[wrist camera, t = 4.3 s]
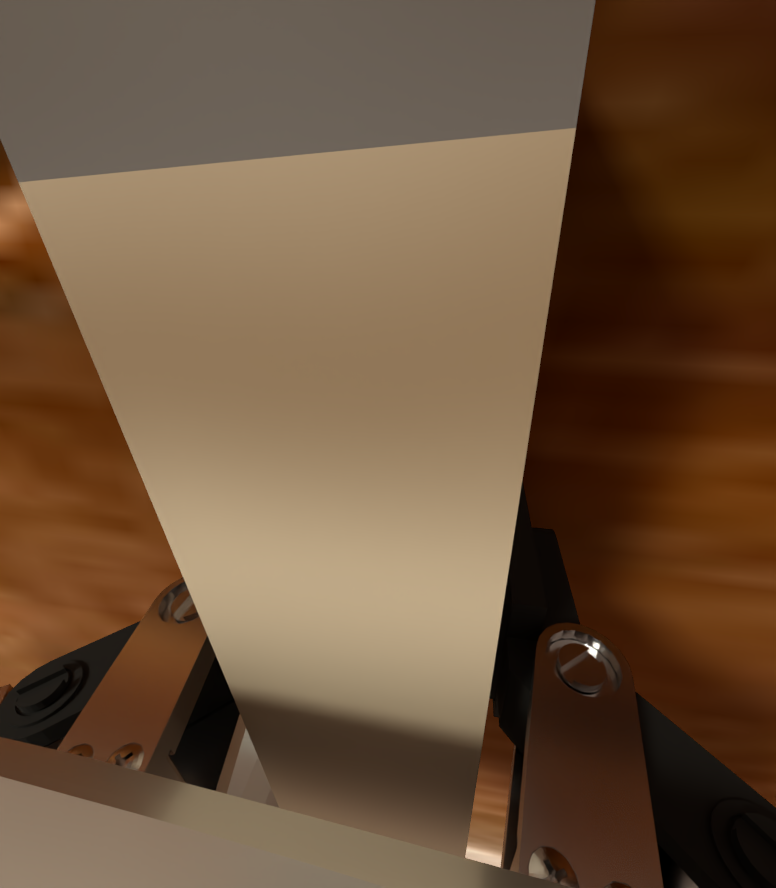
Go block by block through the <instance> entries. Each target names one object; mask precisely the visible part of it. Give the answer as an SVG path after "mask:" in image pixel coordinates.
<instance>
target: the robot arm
mask: <svg viewBox="0 0 776 888" xmlns="http://www.w3.org/2000/svg"><path fill="white" fill-rule="evenodd" d="M489 698H490V699H493V714H494V717H499V726H500V728H501V729H502V730H503V731H504V733H505V734H506V735H507V736H508V737H509V739H510V740H511V741H512V742H513V743H514V749H513V758H512V768H511V777H510V786H509V795H508V805H507V814H506V823H505V832H504V842H503V851H502V860H501V868H499V867H496V866H492V865H488V864H485V863H481V862H477V861H474V860H470V859H466V858H463V857H459V856H455V855H452V854H448V853H444V852H441V851H437V850H433V849H430V848H426V847H422V846H419V845H415V844H411V843H408V842H404V841H400V840H397V839H393V838H389V837H386V836H382V835H378V834H375V833H371V832H367V831H363V830H360V829H356V828H352V827H348V826H345V825H341V824H337V823H334V822H330V821H326V820H322V819H319V818H315V817H311V816H307V815H304V814H300V813H296V812H292V811H289V810H285V809H281V808H279V806H278V803H277V801H276V799H275V796H274V794H273V791H272V789H271V787H270V784H269V782H268V779H267V777H266V775H265V772H264V770H263V767H262V765H261V763H260V760H259V758H258V755H257V753H256V751H255V748H254V746H253V743H252V741H251V739H250V736H249V734H248V731H247V729H246V727H245V724H244V722H243V719H242V717H241V715H240V712H239V710H238V708H237V705H236V703H235V700H234V698H233V696H232V693H231V691H230V688H229V686H228V684H227V681H226V679H225V676H224V674H223V672H222V669H221V667H220V664H219V662H218V660H217V657H216V655H215V652H214V650H213V648H212V645H211V643H210V640H209V638H208V636H207V633H206V631H205V628H204V626H203V624H202V621H201V619H200V616H199V614H198V612H197V609H196V607H195V604H194V602H193V600H192V597H191V595H190V592H189V590H188V588H187V585H186V583H185V580H184V578H183V577H182V578H181V579H179V580H177V581H175V582H173V583H172V584H170V585H169V586H168V587H167V588H165V589H164V590H163V591H162V592H161V593H160V594H159V595H158V597H157V598H156V599H155V600H154V602H153V603H152V605H151V606H150V608H149V609H148V611H147V612H146V614H145V616H144V617H143V619H142V620H141V621H140V622H137V623H135V624H133V625H131V626H128V627H126V628H124V629H122V630H119V631H117V632H115V633H113V634H111V635H108V636H106V637H104V638H102V639H99V640H97V641H95V642H93V643H90V644H88V645H86V646H84V647H81V648H79V649H77V650H75V651H73V652H70V653H68V654H66V655H64V656H61V657H59V658H57V659H55V660H52V661H50V662H49V663H47V664H45V665H43V666H41V667H39V668H38V669H36V670H35V671H33V672H32V673H31V674H29V675H28V676H26V677H25V678H24V679H22V680H21V681H20V682H19V683H18V684H17V685H16V686H15V687H14V688H13V687H12V686H11V685H10V684H9V685H6V686H3V687H0V888H776V808H775V807H774V806H773V805H772V804H770V803H769V802H768V801H767V800H766V799H764V798H763V797H762V796H761V795H760V794H758V793H757V792H756V791H755V790H754V789H752V788H751V787H750V786H749V785H747V784H746V783H745V782H744V781H743V780H741V779H740V778H739V777H738V776H737V775H735V774H734V773H733V772H732V771H731V770H729V769H728V768H727V767H726V766H725V765H723V764H722V763H721V762H720V761H719V760H717V759H716V758H715V757H714V756H712V755H711V754H710V753H709V752H708V751H706V750H705V749H704V748H703V747H702V746H700V745H699V744H698V743H697V742H696V741H694V740H693V739H692V738H691V737H690V736H688V735H687V734H686V733H685V732H684V731H682V730H681V729H680V728H679V727H677V726H676V725H675V724H674V723H673V722H671V721H670V720H669V719H668V718H667V717H665V716H664V715H663V714H662V713H661V712H659V711H658V710H657V709H656V708H655V707H653V706H652V705H651V704H650V703H649V702H647V701H646V700H645V699H644V698H642V697H641V696H640V695H639V694H638V693H636V692H635V687H634V680H633V676H632V673H631V669H630V666H629V664H628V662H627V660H626V659H625V657H624V656H623V654H622V653H621V651H620V650H619V649H618V648H617V647H616V646H615V645H614V644H613V643H612V642H611V641H610V640H609V639H607V638H606V637H604V636H603V635H601V634H600V633H598V632H597V631H595V630H593V629H590V628H588V627H585V626H583V625H580V622H579V619H578V615H577V611H576V608H575V604H574V600H573V597H572V593H571V590H570V586H569V582H568V579H567V575H566V571H565V568H564V564H563V560H562V557H561V553H560V549H559V546H558V542H557V538H556V535H555V533H554V531H553V530H552V529H543V528H532V527H531V522H530V517H529V512H528V507H527V502H526V497H525V492H524V487H523V482H522V486H521V493H520V499H519V506H518V512H517V519H516V526H515V532H514V539H513V545H512V552H511V558H510V565H509V571H508V578H507V585H506V591H505V598H504V604H503V611H502V617H501V624H500V631H499V637H498V644H497V650H496V657H495V663H494V670H493V676H492V683H491V690H490V696H489Z"/></svg>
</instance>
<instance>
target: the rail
mask: <svg viewBox="0 0 776 888" xmlns="http://www.w3.org/2000/svg"><path fill="white" fill-rule="evenodd" d="M594 7H595V0H0V139H1V141H2V144H3V146H4V148H5V151H6V153H7V156H8V158H9V160H10V163H11V165H12V168H13V170H14V172H15V175H16V177H17V180H18V182H19V184H20V187H21V189H22V192H23V194H24V196H25V199H26V201H27V204H28V206H29V208H30V211H31V213H32V216H33V218H34V220H35V223H36V225H37V228H38V230H39V232H40V235H41V237H42V240H43V242H44V244H45V247H46V249H47V252H48V254H49V256H50V259H51V261H52V264H53V266H54V268H55V271H56V273H57V276H58V278H59V280H60V283H61V285H62V288H63V290H64V292H65V295H66V297H67V300H68V302H69V304H70V307H71V309H72V312H73V314H74V316H75V319H76V321H77V324H78V326H79V328H80V331H81V333H82V336H83V338H84V340H85V343H86V345H87V348H88V350H89V352H90V355H91V357H92V360H93V362H94V364H95V367H96V369H97V372H98V374H99V376H100V379H101V381H102V384H103V386H104V388H105V391H106V393H107V396H108V398H109V400H110V403H111V405H112V408H113V410H114V412H115V415H116V417H117V420H118V422H119V424H120V427H121V429H122V432H123V434H124V436H125V439H126V441H127V444H128V446H129V448H130V451H131V453H132V456H133V458H134V460H135V463H136V465H137V468H138V470H139V472H140V475H141V477H142V480H143V482H144V484H145V487H146V489H147V492H148V494H149V496H150V499H151V501H152V504H153V506H154V508H155V511H156V513H157V516H158V518H159V520H160V523H161V525H162V528H163V530H164V532H165V535H166V537H167V540H168V542H169V544H170V547H171V549H172V552H173V554H174V556H175V559H176V561H177V564H178V566H179V568H180V571H181V573H182V576H183V578H184V580H185V583H186V585H187V588H188V590H189V592H190V595H191V597H192V600H193V602H194V604H195V607H196V609H197V612H198V614H199V616H200V619H201V621H202V624H203V626H204V628H205V631H206V633H207V636H208V638H209V640H210V643H211V645H212V648H213V650H214V652H215V655H216V657H217V660H218V662H219V664H220V667H221V669H222V672H223V674H224V676H225V679H226V681H227V684H228V686H229V688H230V691H231V693H232V696H233V698H234V700H235V703H236V705H237V708H238V710H239V712H240V715H241V717H242V719H243V722H244V724H245V727H246V729H247V731H248V734H249V736H250V739H251V741H252V743H253V746H254V748H255V751H256V753H257V755H258V758H259V760H260V763H261V765H262V767H263V770H264V772H265V775H266V777H267V779H268V782H269V784H270V787H271V789H272V791H273V794H274V796H275V799H276V801H277V803H278V806H279V808H281V809H285V810H289V811H292V812H296V813H300V814H304V815H307V816H311V817H315V818H319V819H322V820H326V821H330V822H334V823H337V824H341V825H345V826H348V827H352V828H356V829H360V830H363V831H367V832H371V833H375V834H378V835H382V836H386V837H389V838H393V839H397V840H400V841H404V842H408V843H411V844H415V845H419V846H422V847H426V848H430V849H433V850H437V851H441V852H444V853H448V854H452V855H455V856H459V857H463V858H465V854H466V847H467V841H468V834H469V827H470V821H471V814H472V808H473V801H474V795H475V788H476V782H477V775H478V768H479V762H480V755H481V749H482V742H483V736H484V729H485V722H486V716H487V709H488V703H489V696H490V690H491V683H492V676H493V670H494V663H495V657H496V650H497V644H498V637H499V631H500V624H501V617H502V611H503V604H504V598H505V591H506V585H507V578H508V571H509V565H510V558H511V552H512V545H513V539H514V532H515V526H516V519H517V512H518V506H519V499H520V493H521V486H522V480H523V473H524V466H525V460H526V453H527V447H528V440H529V434H530V427H531V420H532V414H533V407H534V401H535V394H536V388H537V381H538V375H539V368H540V361H541V355H542V348H543V342H544V335H545V329H546V322H547V315H548V309H549V302H550V296H551V289H552V283H553V276H554V269H555V263H556V256H557V250H558V243H559V237H560V230H561V224H562V217H563V210H564V204H565V197H566V191H567V184H568V178H569V171H570V164H571V158H572V151H573V145H574V138H575V132H576V125H577V118H578V112H579V105H580V99H581V92H582V86H583V79H584V73H585V66H586V59H587V53H588V46H589V40H590V33H591V27H592V20H593V13H594Z"/></svg>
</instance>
